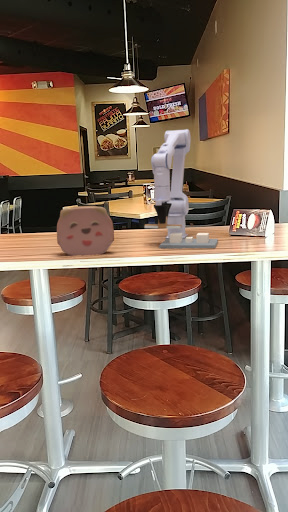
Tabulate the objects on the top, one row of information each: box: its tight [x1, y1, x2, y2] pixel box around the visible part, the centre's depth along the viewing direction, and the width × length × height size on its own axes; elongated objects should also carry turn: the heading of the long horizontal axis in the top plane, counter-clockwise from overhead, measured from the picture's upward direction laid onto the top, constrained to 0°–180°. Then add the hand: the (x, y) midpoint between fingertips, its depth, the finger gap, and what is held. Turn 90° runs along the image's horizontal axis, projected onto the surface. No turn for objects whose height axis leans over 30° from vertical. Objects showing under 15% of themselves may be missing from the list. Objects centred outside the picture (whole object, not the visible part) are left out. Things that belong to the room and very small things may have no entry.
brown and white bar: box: [144, 216, 182, 229], centre depth 166 cm, size 3×14×4 cm, turn 75°
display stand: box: [159, 232, 219, 249], centre depth 165 cm, size 14×20×4 cm
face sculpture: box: [56, 205, 115, 257], centre depth 155 cm, size 20×7×17 cm, turn 94°
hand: (163, 223), depth 166 cm, fingers closed on brown and white bar, 2 cm apart
